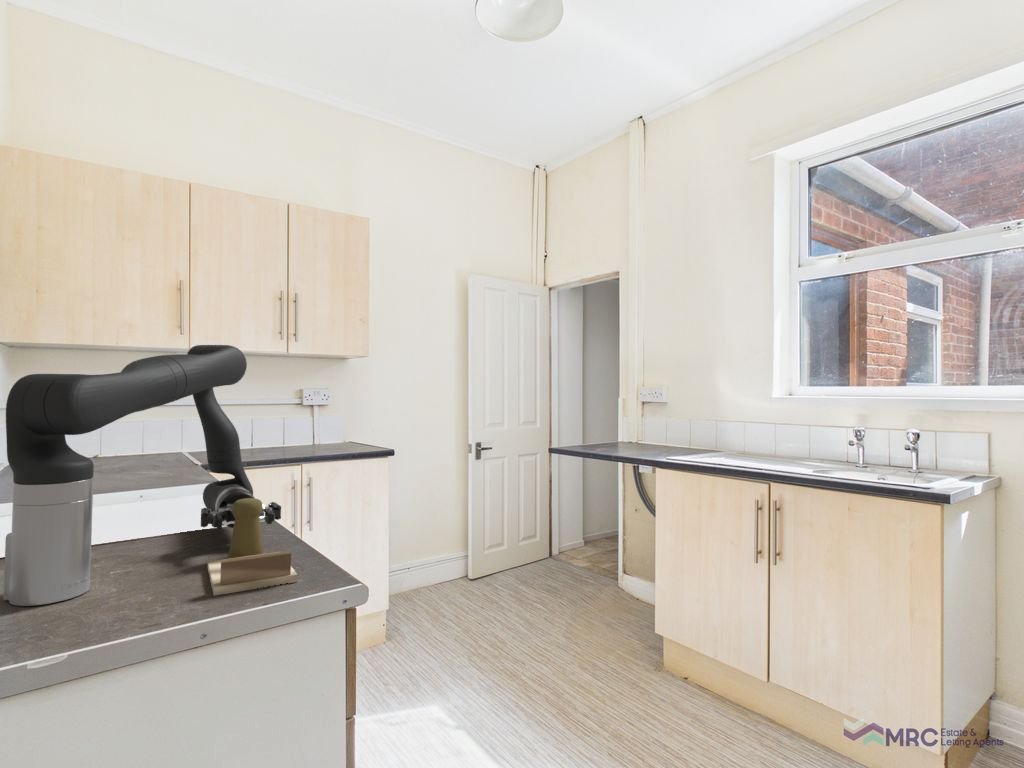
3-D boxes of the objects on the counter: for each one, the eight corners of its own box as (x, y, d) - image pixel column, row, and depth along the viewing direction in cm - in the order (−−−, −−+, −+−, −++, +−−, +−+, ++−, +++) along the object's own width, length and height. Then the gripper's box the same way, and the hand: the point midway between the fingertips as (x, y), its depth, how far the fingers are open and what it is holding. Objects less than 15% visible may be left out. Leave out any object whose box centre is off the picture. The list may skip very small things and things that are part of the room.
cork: (231, 554, 103) (232, 496, 103) (266, 552, 104) (267, 495, 105) (224, 564, 97) (226, 502, 97) (261, 561, 99) (263, 501, 99)
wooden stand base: (207, 568, 94) (208, 541, 95) (281, 558, 101) (281, 532, 101) (213, 595, 82) (214, 564, 82) (297, 582, 88) (297, 553, 88)
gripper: (198, 491, 112) (202, 504, 98) (272, 486, 120) (286, 498, 106) (197, 527, 112) (201, 546, 98) (271, 520, 119) (285, 536, 106)
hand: (245, 521), depth 102 cm, fingers open, 8 cm apart
